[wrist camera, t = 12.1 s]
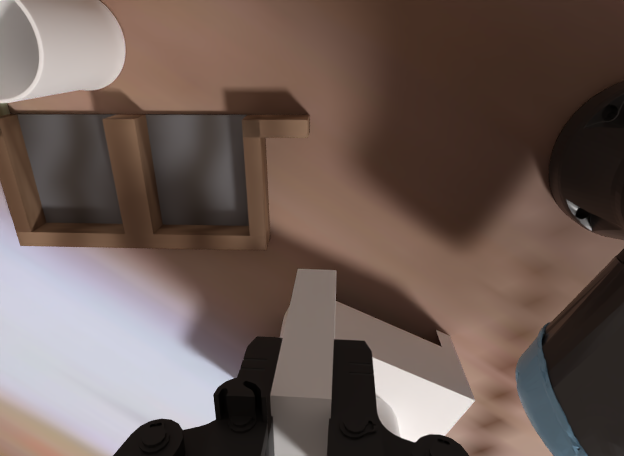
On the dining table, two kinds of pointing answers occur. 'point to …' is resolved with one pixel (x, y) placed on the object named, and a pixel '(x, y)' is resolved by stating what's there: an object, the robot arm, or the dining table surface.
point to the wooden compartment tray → (140, 178)
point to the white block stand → (408, 375)
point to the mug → (57, 47)
